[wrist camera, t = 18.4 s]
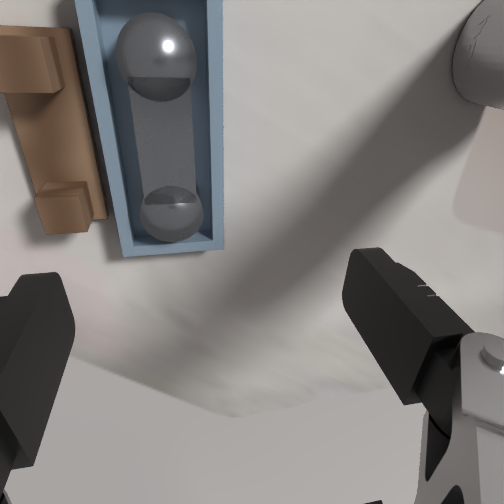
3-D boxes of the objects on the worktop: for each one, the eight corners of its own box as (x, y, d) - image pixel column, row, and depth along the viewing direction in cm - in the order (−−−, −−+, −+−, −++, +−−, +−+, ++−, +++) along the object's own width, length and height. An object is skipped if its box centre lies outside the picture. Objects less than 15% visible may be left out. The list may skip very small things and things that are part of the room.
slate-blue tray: (217, -17, 24) (222, -21, 22) (220, 236, 34) (223, 249, 32) (77, -27, 22) (67, -33, 20) (125, 242, 33) (123, 257, 31)
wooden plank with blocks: (71, 28, 23) (56, 27, 20) (108, 214, 31) (102, 236, 28) (-12, 24, 22) (-42, 23, 19) (47, 218, 30) (33, 241, 27)
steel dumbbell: (191, 16, 24) (194, 14, 21) (200, 221, 33) (204, 239, 30) (115, 12, 23) (108, 9, 20) (146, 225, 32) (144, 244, 29)
